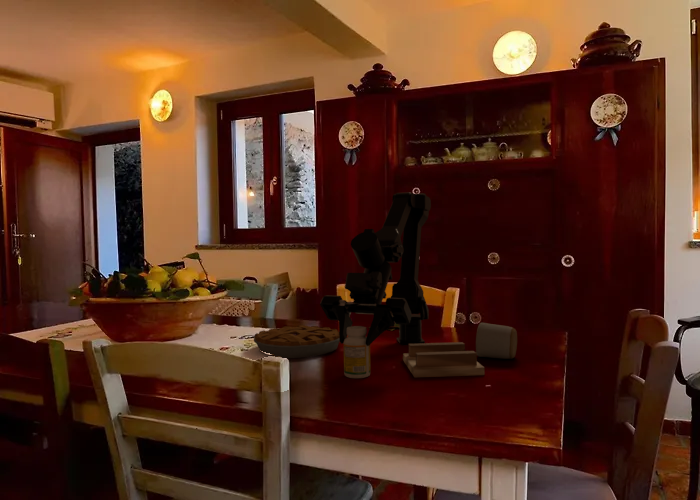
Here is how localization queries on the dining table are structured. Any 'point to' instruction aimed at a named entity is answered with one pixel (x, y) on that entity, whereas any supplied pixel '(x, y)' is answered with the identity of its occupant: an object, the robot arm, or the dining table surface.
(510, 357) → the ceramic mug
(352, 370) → the supplement bottle
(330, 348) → the pie
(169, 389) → the dining table surface
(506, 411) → the dining table surface
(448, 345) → the beech cradle
